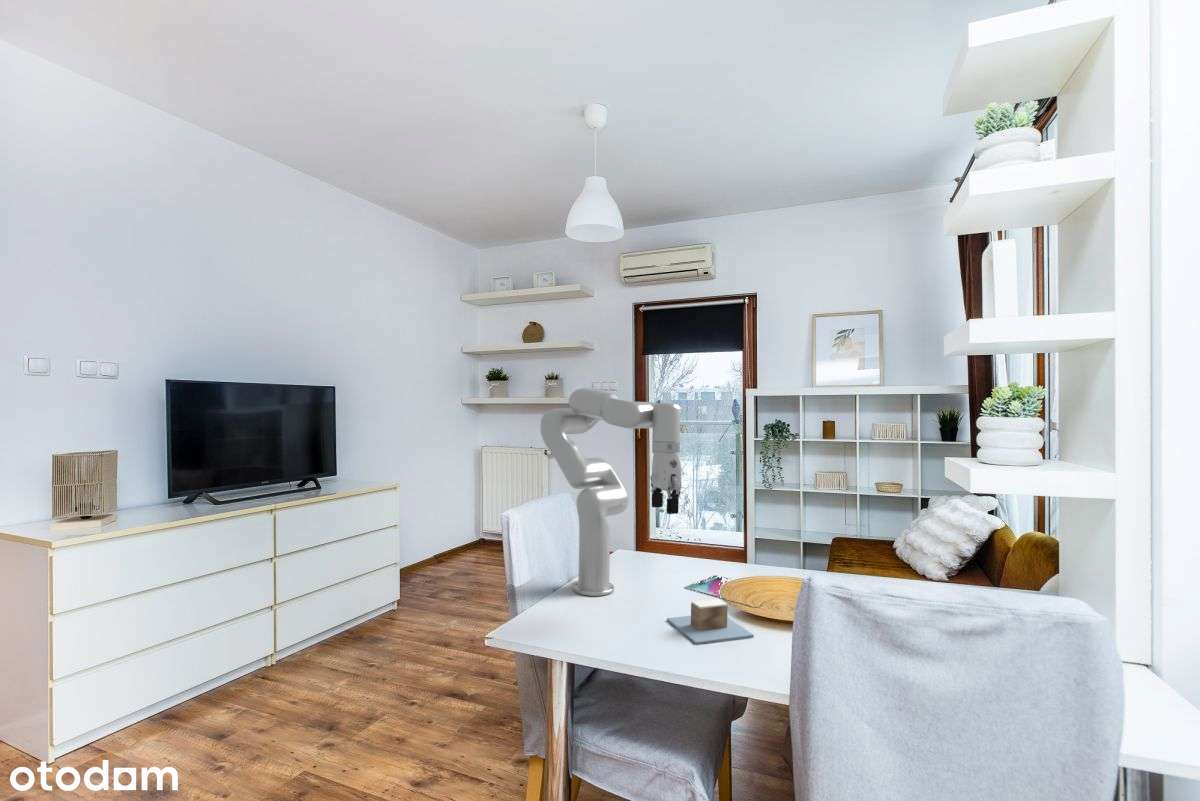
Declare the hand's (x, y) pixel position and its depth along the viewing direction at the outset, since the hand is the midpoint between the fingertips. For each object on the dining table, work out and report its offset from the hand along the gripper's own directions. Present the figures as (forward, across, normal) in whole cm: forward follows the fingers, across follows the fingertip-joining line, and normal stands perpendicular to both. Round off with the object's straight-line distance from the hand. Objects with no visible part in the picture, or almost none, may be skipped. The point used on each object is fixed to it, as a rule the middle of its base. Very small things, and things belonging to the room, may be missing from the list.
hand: (664, 510), depth 158 cm
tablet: (+29, +12, -30) cm, 43 cm away
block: (+28, -13, -7) cm, 31 cm away
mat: (+28, -13, -7) cm, 32 cm away
